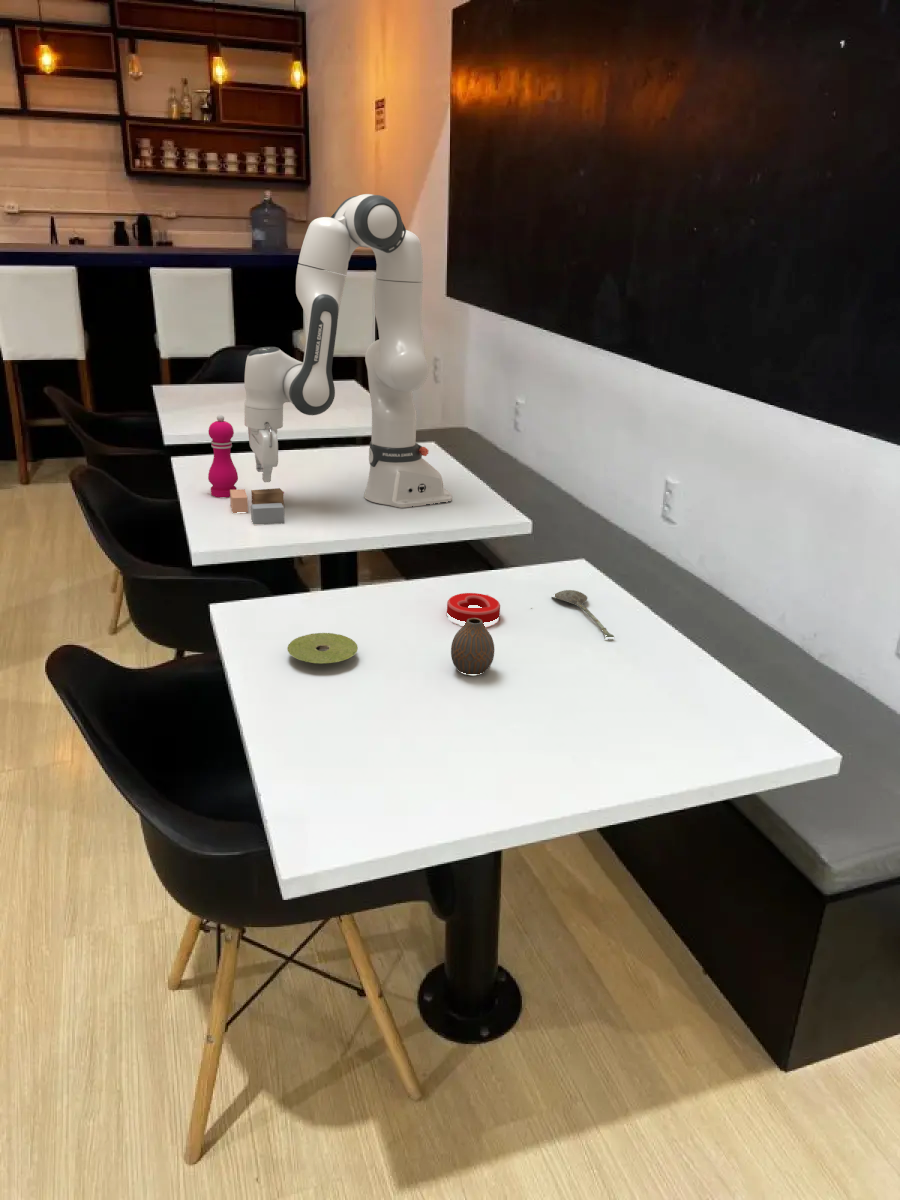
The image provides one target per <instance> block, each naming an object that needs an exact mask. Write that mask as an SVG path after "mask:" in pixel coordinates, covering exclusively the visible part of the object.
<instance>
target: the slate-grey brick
mask: <svg viewBox="0 0 900 1200" xmlns="http://www.w3.org/2000/svg"><path fill="white" fill-rule="evenodd" d="M250 520H252V521H251V523H252V522H253V523H252V525H253V524H264V525H276V524H277V525H279V524H281V523H282V524H285V506H284V507H283V505H282V503H270V504H252V503H250Z"/></svg>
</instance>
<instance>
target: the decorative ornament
mask: <svg viewBox="0 0 900 1200" xmlns="http://www.w3.org/2000/svg"><path fill="white" fill-rule="evenodd" d="M469 605H478V606H480V607H482V608H468V606H469ZM447 613H448V614H449V615H450V616H451V617H453V618H455V619H457V620H460V621H465V622H466V621H467V620H468V619H470V618H478V619H481V620H482V622H483V623H484V622H490V621H493V620H495V619H497V618H498V617H499V618H500V616H499V615H500V614H501V604H500V602H499V601H498V600H497V599H496V598H495V597H492V596H490V595H487V594H483V593H476V592H464V593H458V594H455V595H453V596H451V597H449V598H448V600H447V603H446V614H447Z"/></svg>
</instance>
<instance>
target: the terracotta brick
mask: <svg viewBox="0 0 900 1200" xmlns="http://www.w3.org/2000/svg"><path fill="white" fill-rule="evenodd" d="M229 498H230V500H229V501H230V508H232V509H231V511H232V512H233V513H237V512H248V513H249V507H248V506H249V503H248V495H247V492H246V489H244V488H242V489H241V488H240V489H236V490H230V497H229ZM233 513H232V514H233Z"/></svg>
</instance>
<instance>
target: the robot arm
mask: <svg viewBox="0 0 900 1200" xmlns="http://www.w3.org/2000/svg"><path fill="white" fill-rule="evenodd" d="M359 247H362V248H370V249H371V250H372V251H373V254H374V257H375V261H376V262H375V263H376V270H375V288H374V291H375V293H374V296H375V297H374V316H375V319H376V324H377V330H378V332H377V333H378V338H379V339H377V340H374V341H373V342H372V343H370V345H369V346H368V347H367V349H366V352H365V357H364V358H365V359H364V361H365V365H366V370H367V379H368V391H369V396H370V397H369V398H370V405H371V441H370V442H369V448H368V463H369V472H368V479H367V484H366V487H365V492H364V494H363V497H364V499H366V501H367V500H368V501H369V502H372V503H376V504H380V505H386V506H392V507H396V508H400V509H401V508H404V509H406V508H412V506H413V507H419V506H427V505H426V504H430V505H435V503H438V504H441V503H440V502H446V503H449V502H448V501H451V500H452V501H453V496H452V493H451V492H450V491H449V490H447V489H446V488H444V480H443V477H442V475H441V473H440V472H439V470H437V469H436V468H435V467H434V466H432V464H430V463H429V462H428V461H426V459H424V458H423V457H427V456H428V454H429V449H428V448H427V447H426V446H422V445H421V444H418V443H417V441H416V439H417V438H416V436H417V434H416V433H417V416H418V415H417V409H416V406H415V401H414V395H413V392H414V391H416V390H419V389H420V388H422V386H423V385H424V384H425V383H426V381H427V379H428V376H429V371H430V370H429V363H428V361H427V358H426V352H425V351H426V349H425V340H424V333H423V332H424V331H423V322H422V305H423V304H422V303H423V282H424V264H423V263H424V261H423V252H422V244H421V240H420V238H419V237H418V235H416V234H415V233H414V232H412V231H411V230H407V229H406V226H405V224H404V222H403V219H402V216H401V213H400V211H399V209H398V207H397V206H396V204H395V203H394V202H393V201H392V200H391V199H389V198H388V197H387V196H384V195H379V194H371V193H365V194H364V193H363V194H360V195H355V196H351V197H348V198H346V199H345V200H343V202H341V203H340V205H339V206H338V207H337V209H336V210H335V212H334V213H333V214H332V215H331V216H330V217H329V216H324V217H323V216H321V217H318V218H315V219H313V220H312V221H311V222H310V224H308V227H307V230H306V233H305V235H304V239H303V242H302V246H301V249H300V253H299V257H298V264H297V268H296V274H295V294H296V297H297V300H298V302H299V303H300V305H301V307H302V309H303V312H304V315H305V317H306V324H307V325H306V326H307V332H306V341H305V347H304V354H303V361H300V360H297V359H295V358H294V357H291V356H290V355H289V354H287V353H285V352H284V351H283V350H281V349H280V348H279V347H276V346H264V347H257V348H255V349H252V350H251V351H250V352H249V353H248V354H247V355H246V356H247V357H246V361H245V368H244V389H245V394H246V395H245V401H244V426H245V427H246V428H247V432H248V433H247V434H248V441H249V447H250V449H251V450H252V452H253V453H254V458H255V463H256V464H255V467H256V468H255V469H256V471H257V472H258V473H260V472H261V473H262V474H261V475H262V477H261V478H262V479H261V480H262V481H263V482H264V483H271V482H272V472H273V468H276V467H278V465H279V442H278V441H279V440H278V439H279V438H278V429H282V428H283V425H284V404H285V403H291V404H292V405H293V406H294V407H295V409H296V410H298V411H299V412H300V413H302V414H304V415H306V416H318V415H321V414H323V413H325V412H326V411H327V410H329V408H331V405H333V402H334V400H335V397H336V389H335V382H334V379H333V378H334V377H333V370H332V369H333V361H334V360H333V359H334V352H335V345H336V344H335V343H336V338H337V337H336V336H337V330H338V319H339V314H340V308H341V303H342V298H343V294H344V289H345V284H346V279H347V273H348V268H349V262H350V260H351V257H352V254H353V253H354V252H355V250H356V249H357V248H359ZM452 501H451V502H452ZM433 503H434V504H433Z"/></svg>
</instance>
